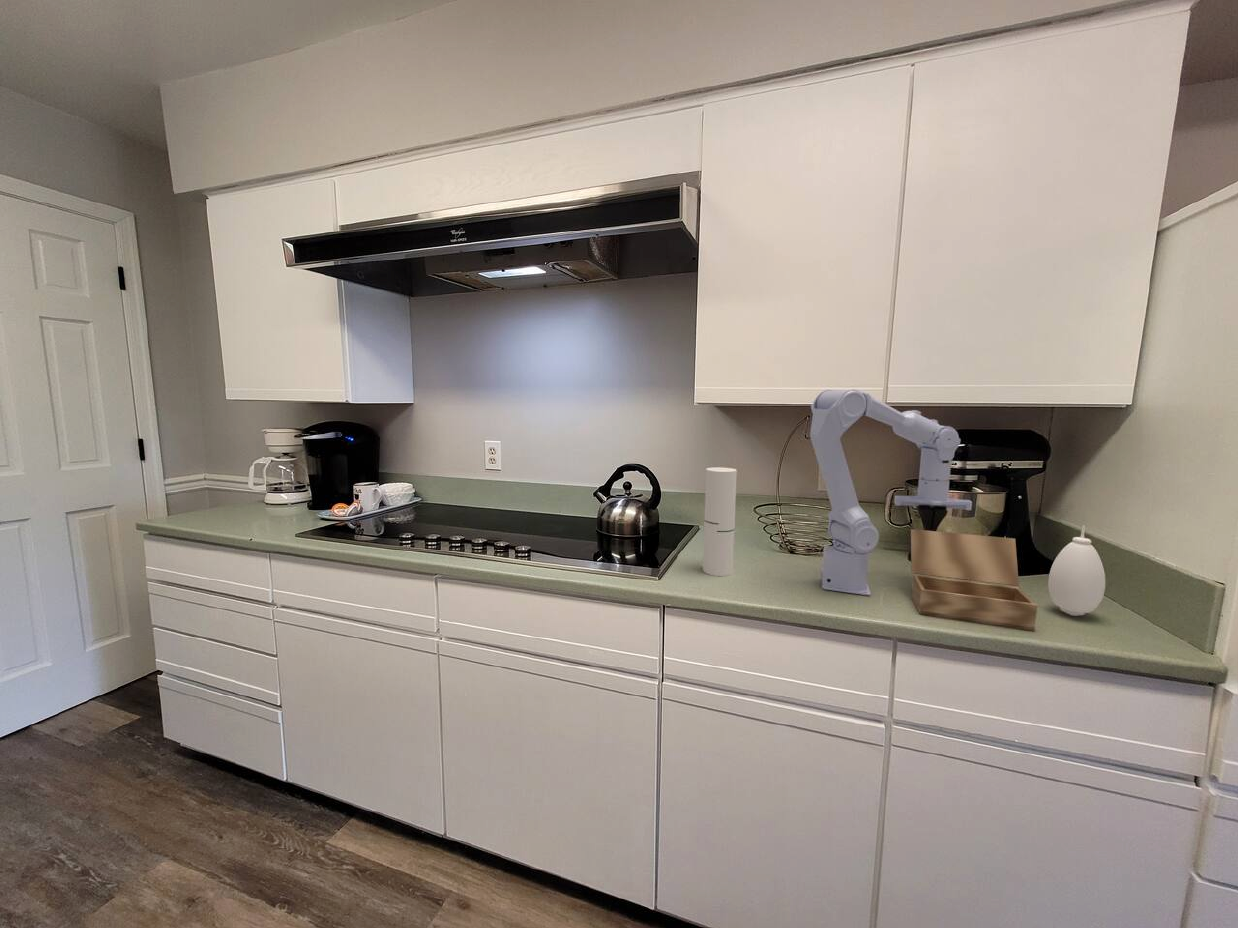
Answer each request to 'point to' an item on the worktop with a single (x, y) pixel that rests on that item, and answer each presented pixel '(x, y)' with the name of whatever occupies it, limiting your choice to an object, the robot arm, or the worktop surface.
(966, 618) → the box
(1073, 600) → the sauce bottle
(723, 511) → the cylindrical container
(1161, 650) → the worktop surface
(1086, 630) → the worktop surface
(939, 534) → the lid
